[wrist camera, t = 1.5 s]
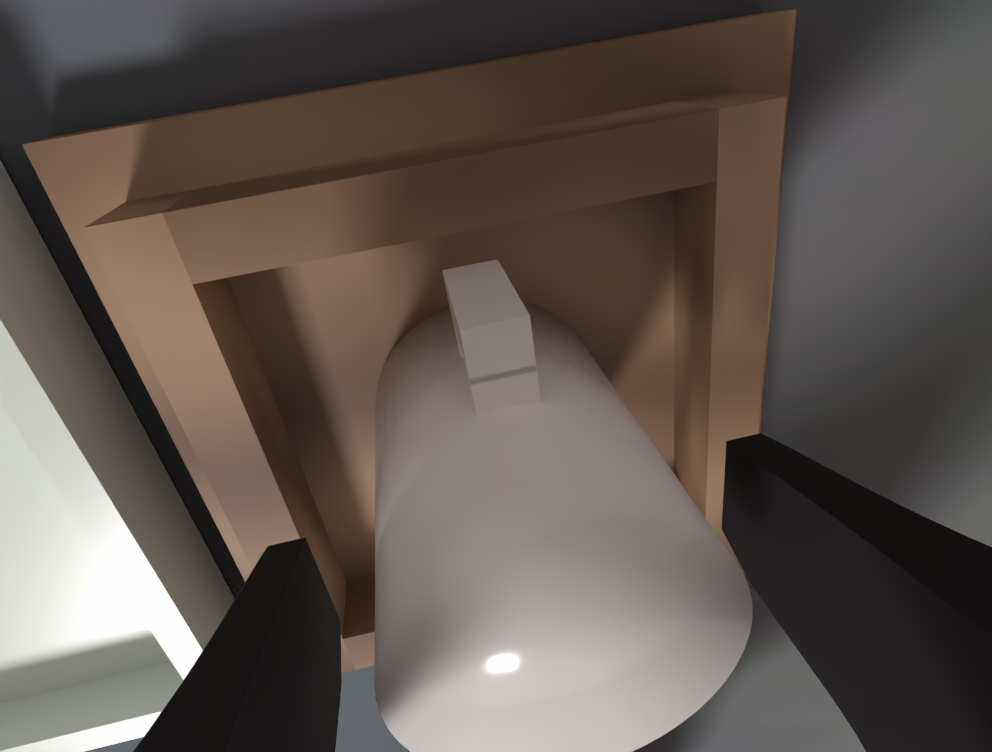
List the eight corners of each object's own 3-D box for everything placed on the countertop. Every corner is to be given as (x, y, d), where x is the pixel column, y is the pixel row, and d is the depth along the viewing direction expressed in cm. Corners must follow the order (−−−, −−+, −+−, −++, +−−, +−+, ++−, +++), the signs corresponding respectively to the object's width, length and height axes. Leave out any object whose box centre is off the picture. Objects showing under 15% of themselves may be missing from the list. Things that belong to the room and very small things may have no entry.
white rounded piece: (601, 464, 16) (742, 725, 10) (403, 509, 15) (421, 812, 9) (581, 212, 12) (777, 370, 6) (330, 262, 12) (283, 481, 6)
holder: (733, 524, 19) (784, 593, 17) (289, 630, 18) (275, 721, 16) (766, 11, 12) (863, 1, 10) (49, 136, 11) (-43, 161, 9)
